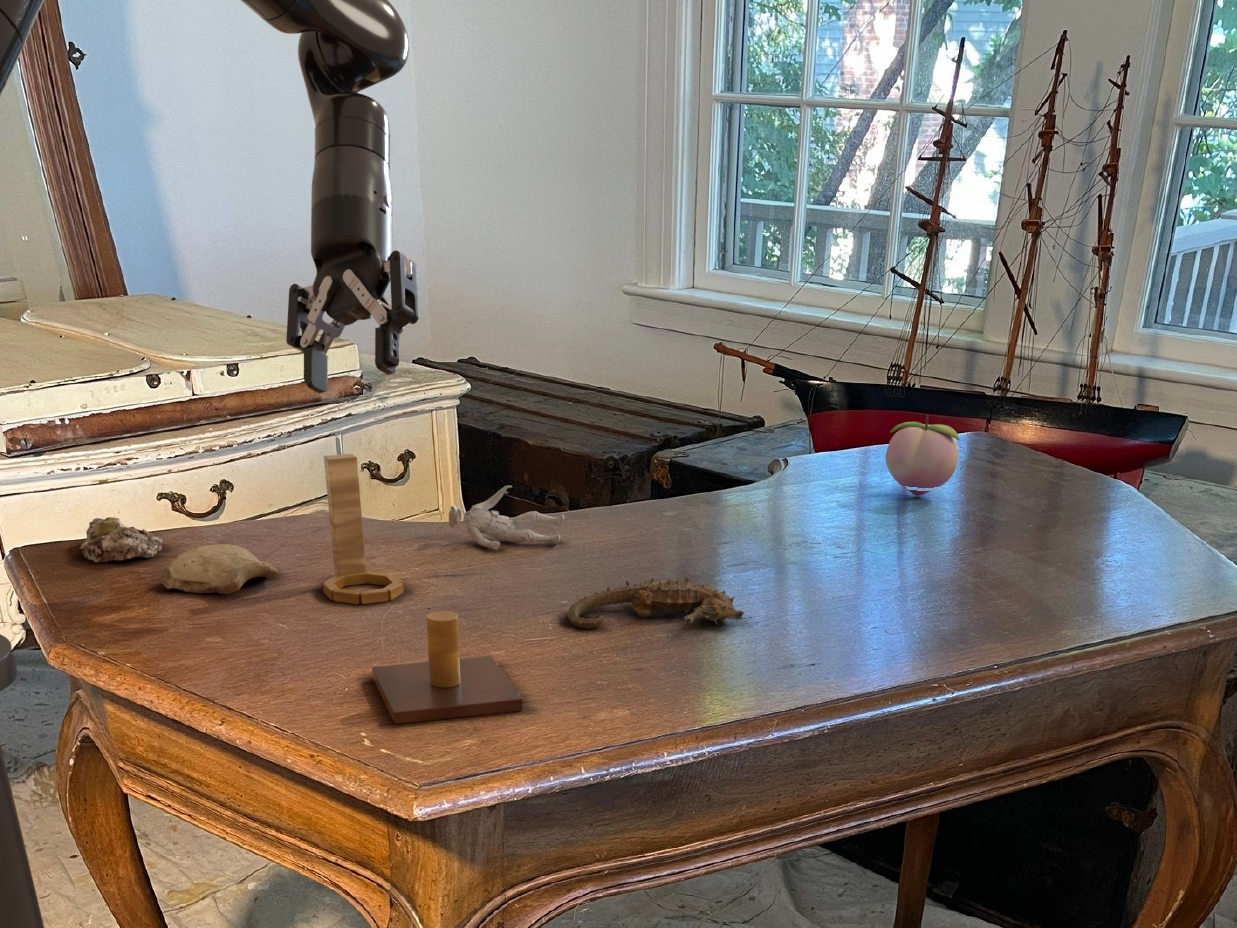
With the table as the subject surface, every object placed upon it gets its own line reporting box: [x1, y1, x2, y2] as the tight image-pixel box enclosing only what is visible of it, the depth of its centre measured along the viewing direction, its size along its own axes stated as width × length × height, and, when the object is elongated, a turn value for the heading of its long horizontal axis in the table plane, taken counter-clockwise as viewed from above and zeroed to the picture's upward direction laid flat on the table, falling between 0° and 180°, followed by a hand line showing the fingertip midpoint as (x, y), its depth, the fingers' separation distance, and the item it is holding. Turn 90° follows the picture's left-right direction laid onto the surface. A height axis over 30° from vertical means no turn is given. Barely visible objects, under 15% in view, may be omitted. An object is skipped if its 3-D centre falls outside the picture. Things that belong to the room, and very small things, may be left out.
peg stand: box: [371, 610, 523, 725], centre depth 102 cm, size 10×10×6 cm
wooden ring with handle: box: [322, 453, 405, 605], centre depth 123 cm, size 9×7×12 cm
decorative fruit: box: [885, 414, 961, 497], centre depth 165 cm, size 9×8×10 cm
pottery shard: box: [158, 543, 279, 594], centre depth 126 cm, size 11×4×10 cm
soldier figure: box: [448, 485, 565, 551], centre depth 142 cm, size 8×5×12 cm
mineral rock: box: [78, 516, 163, 564], centre depth 134 cm, size 11×4×8 cm
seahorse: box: [567, 576, 745, 629], centre depth 121 cm, size 9×16×3 cm, turn 86°
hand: (350, 380), depth 122 cm, fingers open, 8 cm apart
